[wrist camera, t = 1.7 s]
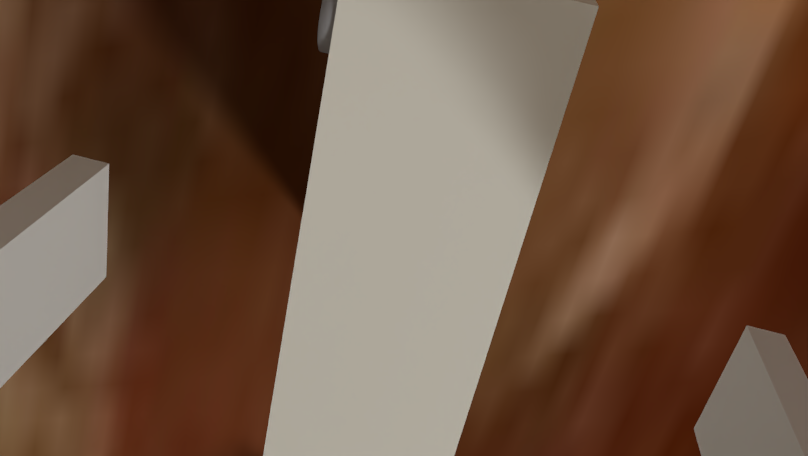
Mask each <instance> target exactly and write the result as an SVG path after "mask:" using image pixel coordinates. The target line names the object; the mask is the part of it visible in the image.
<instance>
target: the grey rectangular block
mask: <svg viewBox="0 0 808 456" xmlns="http://www.w3.org/2000/svg"><path fill="white" fill-rule="evenodd" d="M598 7H599V6H598V4H597V2H596V0H322V5H321V10H320V16H319V24H318V49H319V51H320V52H323V53H327V54H329V56H328V62H327V68H326V75H325V81H324V87H323V93H322V99H321V105H320V111H319V117H318V123H317V129H316V136H315V142H314V148H313V154H312V160H311V166H310V172H309V178H308V184H307V191H306V197H305V203H304V209H303V215H302V221H301V227H300V233H299V239H298V245H297V252H296V258H295V264H294V270H293V276H292V282H291V288H290V294H289V300H288V306H287V313H286V319H285V325H284V331H283V337H282V343H281V349H280V355H279V361H278V367H277V374H276V380H275V386H274V392H273V398H272V404H271V410H270V416H269V422H268V429H267V435H266V441H265V447H264V453H263V456H454V455H455V452H456V448H457V445H458V442H459V439H460V436H461V433H462V430H463V427H464V424H465V420H466V417H467V414H468V411H469V408H470V405H471V402H472V399H473V396H474V392H475V389H476V386H477V383H478V380H479V377H480V374H481V371H482V368H483V365H484V361H485V358H486V355H487V352H488V349H489V346H490V343H491V340H492V337H493V333H494V330H495V327H496V324H497V321H498V318H499V315H500V312H501V309H502V305H503V302H504V299H505V296H506V293H507V290H508V287H509V284H510V281H511V277H512V274H513V271H514V268H515V265H516V262H517V259H518V256H519V253H520V249H521V246H522V243H523V240H524V237H525V234H526V231H527V228H528V225H529V222H530V218H531V215H532V212H533V209H534V206H535V203H536V200H537V197H538V194H539V190H540V187H541V184H542V181H543V178H544V175H545V172H546V169H547V166H548V162H549V159H550V156H551V153H552V150H553V147H554V144H555V141H556V138H557V134H558V131H559V128H560V125H561V122H562V119H563V116H564V113H565V110H566V106H567V103H568V100H569V97H570V94H571V91H572V88H573V85H574V82H575V79H576V75H577V72H578V69H579V66H580V63H581V60H582V57H583V54H584V51H585V47H586V44H587V41H588V38H589V35H590V32H591V29H592V26H593V23H594V19H595V16H596V13H597V10H598Z"/></svg>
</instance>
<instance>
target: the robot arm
mask: <svg viewBox="0 0 808 456" xmlns="http://www.w3.org/2000/svg"><path fill="white" fill-rule="evenodd" d="M108 187H109V164H108V163H104V162H100V161H96V160H92V159H88V158H85V157H81V156H77V155H72V156H70V157H69V158H67V159H66V160H64V161H63V162H62V163H60V164H59V165H57V166H56V167H55V168H53V169H52V170H50V171H49V172H47V173H46V174H45V175H43V176H42V177H40V178H39V179H37V180H36V181H35V182H33V183H32V184H30V185H29V186H28V187H26V188H25V189H23V190H22V191H20V192H19V193H18V194H16V195H15V196H13V197H12V198H11V199H9V200H8V201H6V202H5V203H3V204H2V205H1V206H0V388H1V387H2V386H3V385H4V383H5V382H6V381H7V380H8V379H9V378H10V377H11V376H12V375H13V374H14V373H15V372H16V371H17V370H18V369H19V368H20V367H21V366H22V365H23V364H24V363H25V361H26V360H27V359H28V358H29V357H30V356H31V355H32V354H33V353H34V352H35V351H36V350H37V349H38V348H39V347H40V346H41V345H42V344H43V343H44V342H45V340H46V339H47V338H48V337H49V336H50V335H51V334H52V333H53V332H54V331H55V330H56V329H57V328H58V327H59V326H60V325H61V324H62V323H63V322H64V321H65V319H66V318H67V317H68V316H69V315H70V314H71V313H72V312H73V311H74V310H75V309H76V308H77V307H78V306H79V305H80V304H81V303H82V302H83V301H84V300H85V298H86V297H87V296H88V295H89V294H90V293H91V292H92V291H93V290H94V289H95V288H96V287H97V286H98V285H99V284H100V283H101V282H102V281H103V280H104V279H105V277H106V265H107V226H108ZM694 431H695V435H696V438H697V442H698V445H699V449H700V453H701V456H808V379H807V377H806V375H805V373H804V371H803V369H802V367H801V365H800V363H799V361H798V359H797V357H796V355H795V354H794V352H793V350H792V348H791V346H790V344H789V342H788V340H787V338H786V336H785V335H782V334H778V333H775V332H771V331H767V330H763V329H759V328H755V327H751V326H746V328H745V330H744V332H743V334H742V336H741V338H740V340H739V342H738V344H737V346H736V348H735V350H734V351H733V353H732V355H731V357H730V359H729V361H728V363H727V365H726V367H725V369H724V371H723V373H722V375H721V377H720V379H719V381H718V383H717V385H716V386H715V388H714V390H713V392H712V394H711V396H710V398H709V400H708V402H707V404H706V406H705V408H704V410H703V412H702V414H701V416H700V418H699V420H698V422H697V423H696V425H695V427H694Z"/></svg>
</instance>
